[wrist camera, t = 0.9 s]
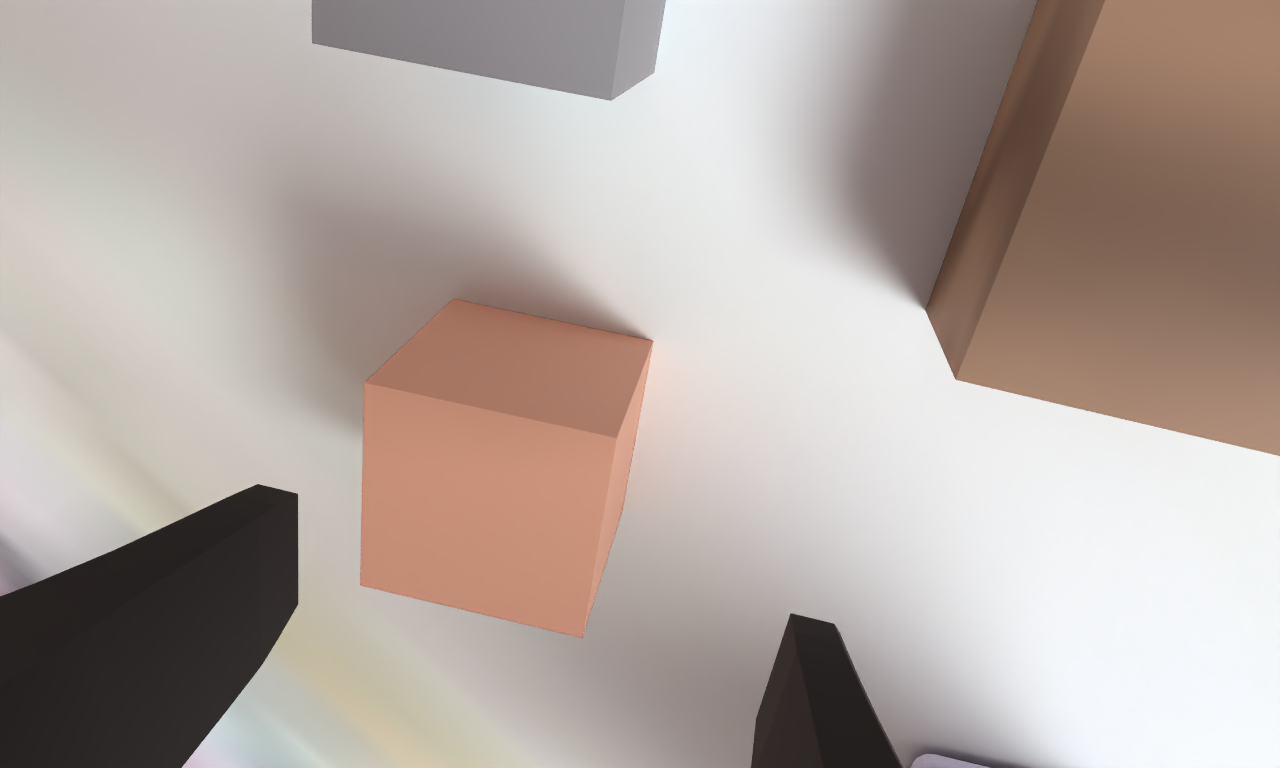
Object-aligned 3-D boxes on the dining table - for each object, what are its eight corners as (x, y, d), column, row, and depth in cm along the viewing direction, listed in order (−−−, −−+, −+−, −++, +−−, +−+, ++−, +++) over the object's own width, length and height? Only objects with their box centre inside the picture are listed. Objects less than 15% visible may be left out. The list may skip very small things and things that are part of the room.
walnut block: (1235, 379, 19) (1339, 469, 15) (924, 307, 19) (955, 379, 16) (1419, 48, 16) (1602, 66, 12) (1045, -30, 16) (1118, -34, 13)
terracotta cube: (622, 510, 23) (582, 638, 18) (442, 469, 23) (360, 585, 19) (653, 340, 21) (616, 438, 16) (454, 297, 21) (364, 382, 17)
